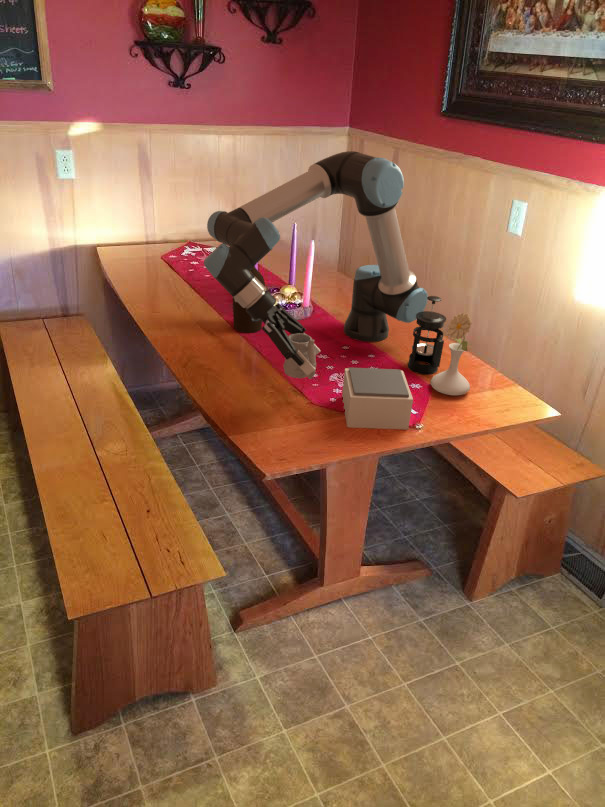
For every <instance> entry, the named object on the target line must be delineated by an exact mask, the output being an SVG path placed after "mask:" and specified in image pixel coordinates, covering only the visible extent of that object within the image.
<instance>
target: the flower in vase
mask: <svg viewBox="0 0 605 807" xmlns="http://www.w3.org/2000/svg"><path fill="white" fill-rule="evenodd" d="M472 324H473V323H472V319H471V317H470V315H469V313H464V312H461V313H457V315H454V316H453V317H452V319H451V320H450V322H449V324H448V326H447V327H448V329H447V335H448V336H449V339H450V340H454V341H456V342H452V343H449V344H448V348H449V350H450V356H451V357H450V363H449V366H448V368H447V369H446V370H444V371H441V372H439V373H437V374H435V375H433V377H431V379H430V380H429V381H430V385H431V387H432V388H433V390H435V391H436V392H439V393H440V394H444V395H449V396H462V395H465V394H467V393H468V392H469V391H470V389H471V385H470V382H469V381H468V380H467V378H466V377H465V376H464V375H463V374H461V373H460V372H459V362H460V359H461V357H462V355H463V353H464V352H468V344H469V343H468V341H467V340H466V335H467V333H469V332H470V329H471V326H472ZM462 339H463V340H462Z"/></svg>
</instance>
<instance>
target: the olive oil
mask: <svg viewBox="0 0 605 807" xmlns="http://www.w3.org/2000/svg"><path fill="white" fill-rule="evenodd" d="M250 271H251V273H252V274H253V275H254V276H255V277H256V278H257V279H258V280H259V281H260V282H261V283H262V284H263V285H264V287H265V288H266V283H265V278H264V276H263V274H262V273H261V272H260V271H259V269H257V268H256V266H254V267H253V268H252V269H251V270H250ZM232 310H233V312H232V313H233V314H232V315H233V317H232V319H233V320H232V322H233V329H234V330H235V331H237V332H240V333H244V334H253V333H257V331H258V332H259V331H261V330H262V327H263V321H262V319H258V320H254V319H253V318H252V317H251V316H250V315H249V314H248V313H247V312H246V308H243V307H242V306H241V305H240V304H239V303H238V302H235V299H234V298H233V297H232Z"/></svg>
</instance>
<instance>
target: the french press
mask: <svg viewBox="0 0 605 807" xmlns="http://www.w3.org/2000/svg"><path fill="white" fill-rule="evenodd" d="M427 299H428V301H431V305H432V307H431V311H428V310H426V311H425V310H424V311H423V312H419V313H417V314H416V318H417V319H416V324H417V327H415V328H413V333H412V336H413V344H412V346H411V353H410V354H409V356H408V362H407V369H408V370H409V371H411V372H413V373H415V374H419V375H424V376H425V375H434V374H436V373H437V372H438V371H439V368H440V365H441V361H442V360H441V359H442V356H443V355H442V354H443V349H444V343H445V341H444V332H443V331H442V330H441V329H442V328H443V327H444V326H445V323H446V321H447V317H446V316H445V315H444V314H442V313H439V312H436V311H434V307H435V304H436V302H441V301H442V298H441V297H440V296H436V295H428V297H427ZM422 331H427V334H426V335H427V336H426V337H425V336H422ZM430 332H432V333H433V332H434V333H436V337H429V334H430ZM421 341H422V342H421ZM424 342H425V343H424ZM431 343H434V344H431Z"/></svg>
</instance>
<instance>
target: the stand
mask: <svg viewBox="0 0 605 807" xmlns="http://www.w3.org/2000/svg"><path fill="white" fill-rule="evenodd" d="M343 374H344V375H343V384H342V385H343V387H342V392H341V395H342V396H341V398H342V397H343V400H342V404H343V403H344V406H343V410H344V409H345V412H344V417H345V421H346V422H345V423H346V427H347V428H353V429H354V428H356V429H357V428H358V429H359V428H360V429H385V430H409V429H410V428H409V427H410V420H411V414H412V409H413V403H414V398H413V395H412V392H411V390H410V387H409V384H408V381H407V378H406V375H405V372H404V371H403V370H401V369H399V368H398V369H397V368H394V369H393V368H369V367H350V366H349V367H347V368H344V372H343Z"/></svg>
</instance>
